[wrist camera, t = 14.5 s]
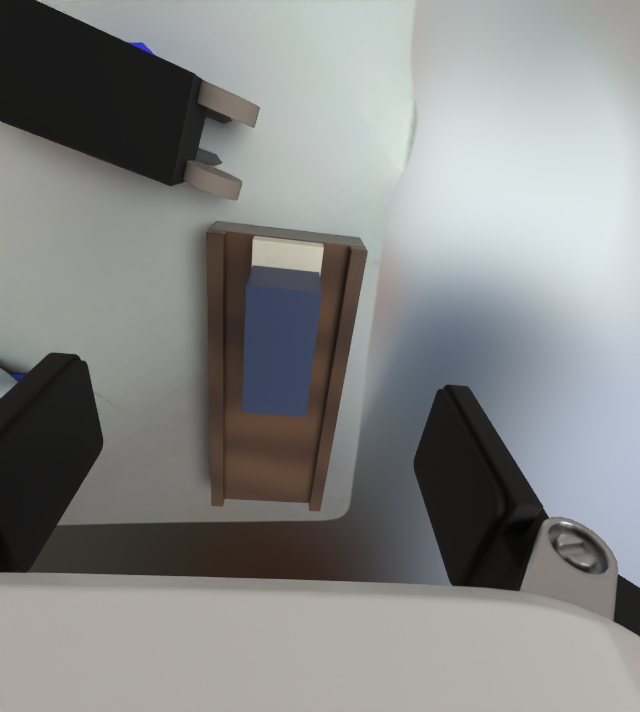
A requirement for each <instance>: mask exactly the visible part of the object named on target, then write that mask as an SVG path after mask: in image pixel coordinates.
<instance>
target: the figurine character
mask: <svg viewBox="0 0 640 712" xmlns="http://www.w3.org/2000/svg"><path fill="white" fill-rule="evenodd" d="M259 109H260V107H258V106H257V105H255V104H253V103H251V102H249V101H247V100H245V99H243V98H241V97H239V96H237V95H235V94H232V93H230V92H228V91H226V90H224V89H222V88H219V87H217V86H215V85H212V84H210V83H208V82H205V81H204V80H202V79H201V78H199V77H198V76H197V75H196V74H194V73H192V72H190V71H188V70H186V69H184V68H181V67H179V66H177V65H175V64H173V63H171V62H168V61H166V60H164V59H162V58H160V57H158V56H155V55H154V54H153V53H152V52H151V51H150V50H149V49H148V48H147V47H146V46H145V45H144V44H143V43H127V42H125V41H123V40H121V39H119V38H116V37H114V36H112V35H110V34H108V33H106V32H103V31H101V30H99V29H97V28H95V27H93V26H90V25H88V24H86V23H84V22H82V21H80V20H77V19H75V18H73V17H71V16H69V15H67V14H64V13H62V12H60V11H58V10H56V9H54V8H51V7H49V6H47V5H45V4H43V3H41V2H38V1H36V0H0V121H1V122H3V123H6V124H8V125H11V126H14V127H16V128H19V129H22V130H24V131H27V132H29V133H32V134H35V135H37V136H40V137H43V138H45V139H48V140H51V141H53V142H56V143H58V144H61V145H64V146H66V147H69V148H72V149H74V150H77V151H79V152H82V153H85V154H87V155H90V156H93V157H95V158H98V159H100V160H103V161H106V162H108V163H111V164H114V165H116V166H119V167H121V168H124V169H127V170H129V171H132V172H135V173H137V174H140V175H142V176H145V177H148V178H150V179H153V180H156V181H158V182H161V183H163V184H166V185H169V186H173V185H176V184H179V183H183V182H186V183H188V184H190V185H192V186H194V187H196V188H198V189H200V190H203V191H205V192H208V193H210V194H213V195H216V196H219V197H222V198H226V199H230V200H238V196H239V193H240V189H241V186H242V181H241V180H240V179H238V178H236V177H234V176H232V175H230V174H228V173H225V172H223V171H221V170H218V169H216V168H213V167H211V166H208V165H205V164H202V163H199V162H196V161H195V160H199V161H202V162H204V163H207V164H210V165H212V166H214V165H218V164H221V163H222V162H221V160H220V159H219V158H218V156H217V155H216V154H213V153H210V152H208V151H205V150H202V149H200V148H198V146H199V142H200V137H201V133H202V129H203V124H204V120H205V116H207V117H210V118H212V119H214V120H217V121H219V122H222V123H226V122H230V121H232V119H231V118H233V119H235V120H237V121H239V122H242V123H244V124H246V125H249V126H251V127H253V128H254V127H255V124H256V120H257V116H258V113H259Z"/></svg>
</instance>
